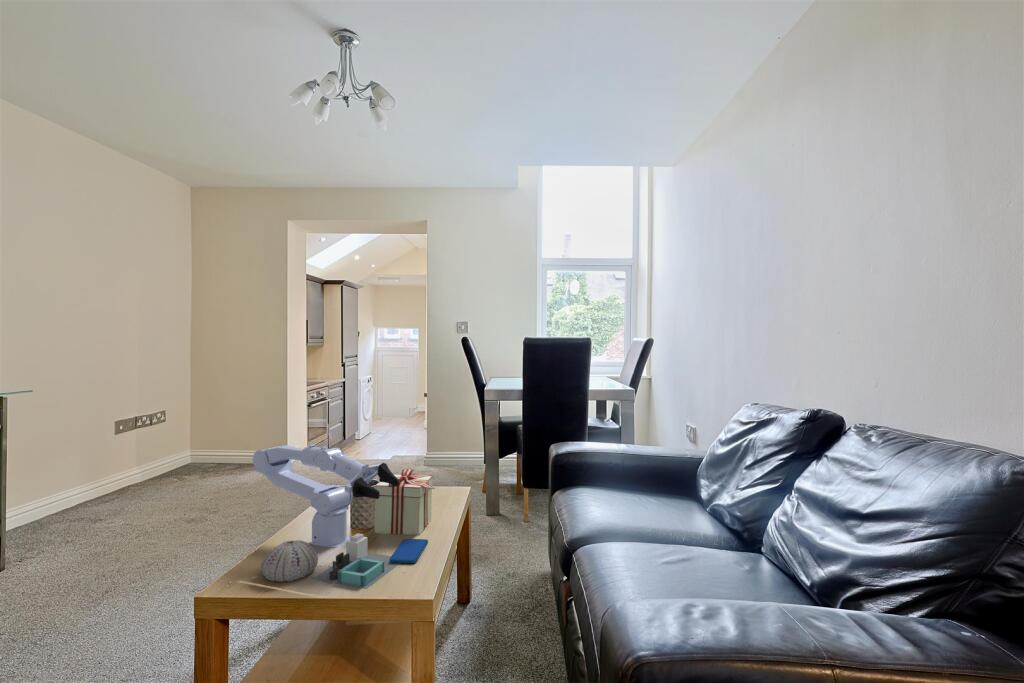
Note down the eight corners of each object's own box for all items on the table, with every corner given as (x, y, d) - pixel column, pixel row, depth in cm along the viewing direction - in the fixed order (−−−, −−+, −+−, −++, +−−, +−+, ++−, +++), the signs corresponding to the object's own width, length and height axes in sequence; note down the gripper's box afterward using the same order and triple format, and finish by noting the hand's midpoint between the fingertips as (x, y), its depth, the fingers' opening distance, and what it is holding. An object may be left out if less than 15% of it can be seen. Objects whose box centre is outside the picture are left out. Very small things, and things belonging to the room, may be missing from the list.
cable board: (311, 580, 122) (311, 565, 122) (356, 552, 139) (356, 539, 139) (366, 590, 117) (366, 575, 117) (406, 560, 134) (406, 546, 134)
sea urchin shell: (326, 562, 133) (326, 532, 133) (305, 586, 120) (305, 553, 120) (276, 562, 133) (277, 532, 133) (250, 586, 120) (250, 553, 120)
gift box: (432, 536, 151) (432, 479, 152) (372, 536, 152) (372, 479, 152) (441, 517, 168) (441, 466, 169) (387, 517, 169) (387, 466, 169)
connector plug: (346, 560, 133) (346, 537, 133) (356, 553, 137) (356, 532, 137) (357, 562, 132) (357, 539, 132) (367, 555, 136) (367, 533, 136)
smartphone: (388, 559, 131) (404, 538, 146) (388, 563, 131) (404, 542, 146) (416, 560, 131) (428, 539, 146) (416, 564, 131) (428, 542, 146)
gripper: (333, 469, 137) (370, 489, 131) (371, 448, 149) (406, 465, 143) (332, 491, 139) (368, 511, 133) (370, 468, 151) (404, 486, 145)
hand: (388, 489), depth 138 cm, fingers open, 7 cm apart
